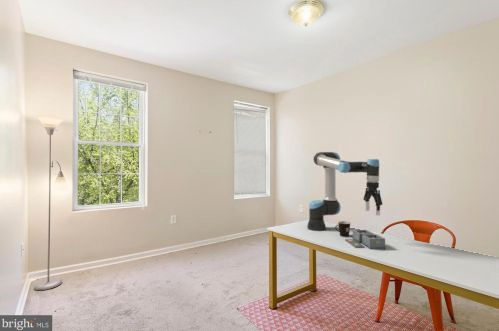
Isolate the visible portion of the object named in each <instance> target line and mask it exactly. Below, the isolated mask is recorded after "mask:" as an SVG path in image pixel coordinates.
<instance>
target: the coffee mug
mask: <svg viewBox="0 0 499 331" xmlns="http://www.w3.org/2000/svg"><path fill="white" fill-rule="evenodd" d="M337 223H338V224H336V225H335V230H336V231H338V232H339V236H340V237H343V238H348V237H349V236H350V229H351V222H349V221H346V220H343V221H341V220H340V221H337ZM337 227H338V229H337Z"/></svg>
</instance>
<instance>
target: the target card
mask: <svg viewBox="0 0 499 331" xmlns="http://www.w3.org/2000/svg"><path fill="white" fill-rule="evenodd" d="M344 241H345V242H346V243H348V244H349V245H350V246H352V247H354V248H355V249H357V248H360V249H362V248H365V247H366V246H364V245H363V244H362V243H359V242H357V241H355V240H354V239H353V238H345V239H344Z"/></svg>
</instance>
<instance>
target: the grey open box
mask: <svg viewBox="0 0 499 331" xmlns="http://www.w3.org/2000/svg"><path fill="white" fill-rule="evenodd" d="M373 237H374V238H373ZM361 244H362V245H363V246H365V247H366V248H368V249H369V250H380V249H381V250H385V249H386V238H385V237H383V236H381V235H378V234H375V233H374V234H367V235H362V243H361Z"/></svg>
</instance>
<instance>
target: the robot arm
mask: <svg viewBox="0 0 499 331" xmlns="http://www.w3.org/2000/svg"><path fill="white" fill-rule="evenodd" d="M313 162H314V164H315V165H316V166H319V167H322V168H323V169H324V187H325V188H324V198H323V200H322V199H315V200H312V201H310V202H309V204H308V208H309V209H308V214H309V215H308V216H309V217H308V218H309V219H308V222H307V227H306V228H307V230H311V231H325V230H327V227H326V223H325V219H324V217H325V216H335V215H338V214H339V213H340V211H341V203H340V202H339V201H338V199H337V196H336V195H337V194H336V170H337V171H338V172H340V173H343V174H347V173H348V174H349V173H366V188H365V192H364V196H363V198H362V199H363V201H364V211H365V212H369V211H370V199H371V198H373V200H374V203H375V206H374V207H375V209H374V210H375V211H374V213H375V216H380V215H381V206H383V200H382V196H381V190H379V188H380V183H379V182H380V160H379V158H375V159H374V158H370V159H369V158H368V159H366V161H345V160H343V159H341V157H340V155H339V154H338V153H337V152H333V151H320V152H317V153H315V154H314V156H313Z"/></svg>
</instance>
